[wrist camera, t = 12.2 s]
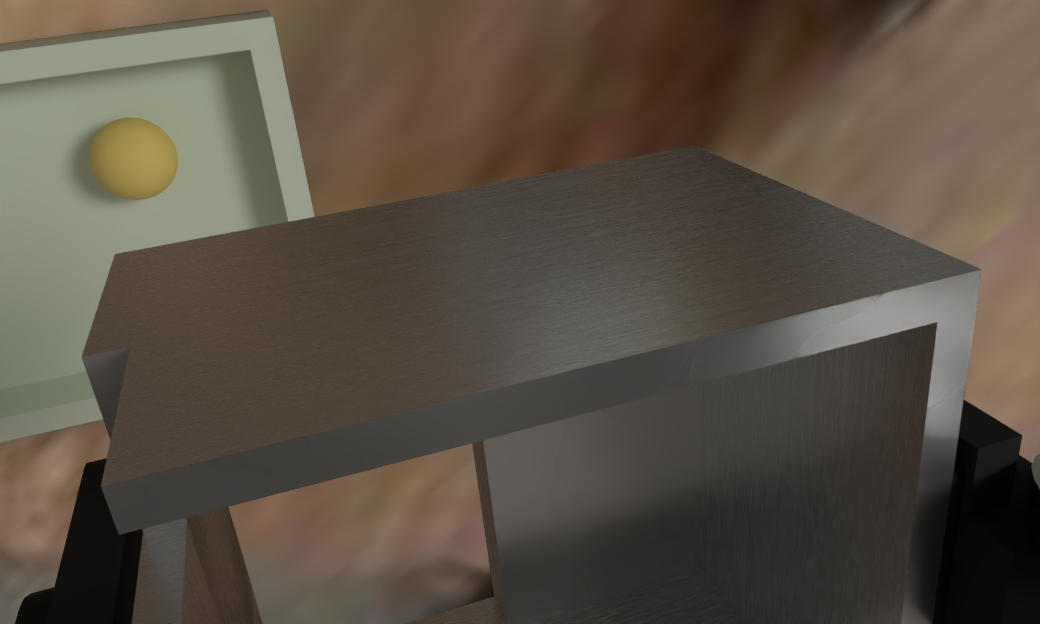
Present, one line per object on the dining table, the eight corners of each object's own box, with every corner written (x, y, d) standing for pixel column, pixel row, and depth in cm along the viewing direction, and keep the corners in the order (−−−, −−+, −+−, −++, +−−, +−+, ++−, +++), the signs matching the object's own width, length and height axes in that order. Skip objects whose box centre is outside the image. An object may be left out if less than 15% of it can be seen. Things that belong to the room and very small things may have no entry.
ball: (208, 158, 33) (159, 101, 33) (150, 160, 30) (96, 98, 30) (168, 213, 34) (120, 157, 34) (108, 219, 31) (57, 159, 31)
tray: (-172, 65, 30) (-216, 79, 27) (267, 10, 34) (272, 16, 31) (-26, 410, 36) (-49, 453, 33) (334, 331, 40) (344, 363, 36)
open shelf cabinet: (114, 254, 10) (34, 502, 6) (695, 146, 12) (982, 269, 7) (252, 691, 13) (272, 1080, 8) (699, 552, 15) (905, 813, 10)
